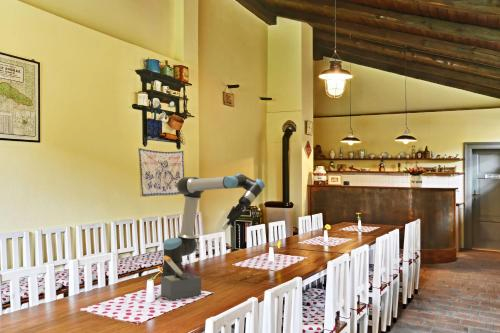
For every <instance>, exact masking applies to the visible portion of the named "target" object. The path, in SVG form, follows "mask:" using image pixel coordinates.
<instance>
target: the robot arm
mask: <svg viewBox="0 0 500 333" xmlns="http://www.w3.org/2000/svg"><path fill="white" fill-rule="evenodd" d="M265 186H266V184H265V182H264V181H263V180H262V179H260V178H255V179H252V178H250V177H248V176H246V175H245V174H244V173H243V174H242V173H239V172H237V174H236V175H228V176H216V177H206V178H204V177H203V178H200V177H198V176H187V177H186V176H185V177H181V178H180V179H178V181H177V184H176V189H177V191H178V192H179V193H180V194H182V195H183V197H184V207H183V214H182V222H181V228H180V229H181V230H180V233H179V234H178V235H177V237H172V238H171V237H170V238H167V239H165V240H164V242H163V257H164V256H165V255H166V256H168V257H170V258H171V259H172V261H173V262H174V263H175V264H176V266H177V267H178V268H179V269H180V270H181V271H182V272H183V273H184V271H185V268H184V267H183V263H182V257H185V256H189V255H192V254H193V253H195V252H196V251H197V247H198V242H197V240H196V235H194V233H195V232H194V231H195V225H196V219H197V209H198V203H199V200H200V199H201V197H202V194H203V193H204V192H205V191H210V190H214V191H215V190H227V189H229V190H230V189H238V188H241V189H244V190H245V192H244V193H243V195H242V196H241V197H240V198H239V199H238V204H236V206H232V208H231V210H230V211H229V213H228V214H227V216H226V218H227V219H226V220H225V222H224V223H223V224H222V226H221V229H223V231H226V230H227V229H228V228H229V226H230V225H231V224H232V223H234V222H236V221H237V220H238V219H239V218H240V217H241V216H242V215H243V214H244V213H245V212H247V209H249V207H250V206H251V205H252V203H253V202H254V201H255V200H256V199H257V197H258V196H259V195H260V194H261V192H262V191H263V190H264V189H265ZM162 269H163V273H161V272H160V277H165V276H172V275H175V271H174V270H173V268H172V267H171V266H170V265H169V264H168V263H167V262H166V261H165V260H164V259H163V264H162V267H161V270H162Z"/></svg>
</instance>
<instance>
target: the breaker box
mask: <svg viewBox="0 0 500 333" xmlns="http://www.w3.org/2000/svg"><path fill="white" fill-rule="evenodd" d="M162 295H163V296H164V297H163V296H162ZM199 295H201V296H202V276H198V274H197V275H194V274H192V273H182V277H181V276H179V275H177V273H176V272H175V275H172V276H165V277H164V276H160V296H162V297H163V298H165V297H166V298H167V300H168V299H169V300H168V301H170V300H173V301H177V300H176V299H179V300H182V299H181V298H185V299H189V298H188V297H191V298H195V297H194V296H197V297H200V296H199ZM166 298H165V299H166Z"/></svg>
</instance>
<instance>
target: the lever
mask: <svg viewBox="0 0 500 333" xmlns="http://www.w3.org/2000/svg"><path fill="white" fill-rule="evenodd" d="M162 260H163V261H164V260H165V261H166V262H167V263H168V264H169V265H170V266H171V267H172V268H173V270H174V271H175V272H176V273H177V275H179V276H181V277H182V273H183V272H182V271H181V270H180V269H179V268H178V267H177V266H176V264H175V263H174V262H173V261H172V259H171V258H170V257H168V256H166V255H165V256H164V255H163V256H162Z"/></svg>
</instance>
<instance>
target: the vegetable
mask: <svg viewBox="0 0 500 333" xmlns="http://www.w3.org/2000/svg"><path fill="white" fill-rule="evenodd" d="M184 273H192V274H194V275H197V276H198V273H197V272H196V270H195V269H194V268H193V267H192V266H190V264H188V263H186V262H185V264H184Z"/></svg>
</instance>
